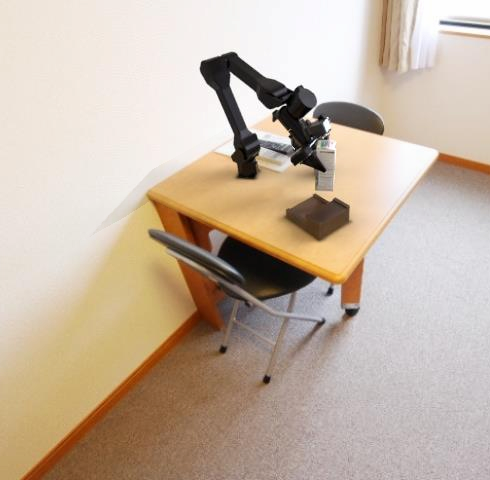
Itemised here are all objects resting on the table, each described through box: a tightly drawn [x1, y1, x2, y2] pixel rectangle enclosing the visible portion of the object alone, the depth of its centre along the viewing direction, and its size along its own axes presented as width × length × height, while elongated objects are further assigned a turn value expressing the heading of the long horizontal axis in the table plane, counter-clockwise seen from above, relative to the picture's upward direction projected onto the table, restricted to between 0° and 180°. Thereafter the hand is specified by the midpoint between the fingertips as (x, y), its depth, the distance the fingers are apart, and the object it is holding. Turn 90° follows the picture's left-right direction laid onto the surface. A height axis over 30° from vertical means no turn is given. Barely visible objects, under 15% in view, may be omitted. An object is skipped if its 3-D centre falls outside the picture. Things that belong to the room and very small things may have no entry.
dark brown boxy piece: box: [285, 192, 351, 241], centre depth 106 cm, size 15×12×6 cm
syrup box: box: [314, 139, 337, 192], centre depth 106 cm, size 6×6×14 cm
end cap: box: [290, 137, 316, 153], centre depth 139 cm, size 10×7×7 cm
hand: (329, 166), depth 106 cm, fingers closed on syrup box, 7 cm apart
